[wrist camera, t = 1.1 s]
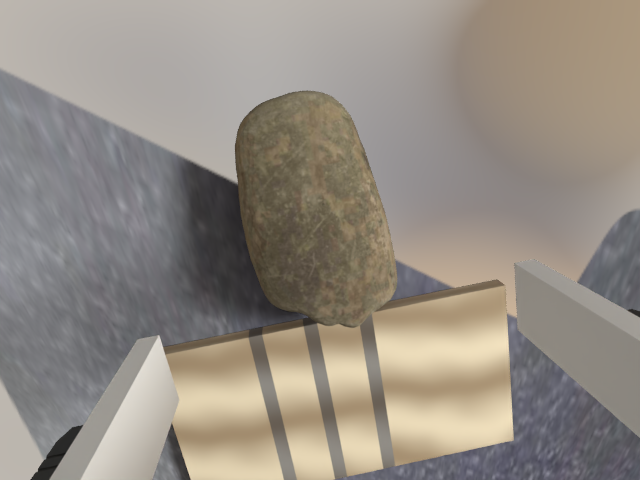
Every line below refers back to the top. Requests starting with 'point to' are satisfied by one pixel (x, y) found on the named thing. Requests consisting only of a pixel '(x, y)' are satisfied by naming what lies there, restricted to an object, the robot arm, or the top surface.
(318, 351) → the board
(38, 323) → the top surface
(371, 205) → the stone
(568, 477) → the top surface
